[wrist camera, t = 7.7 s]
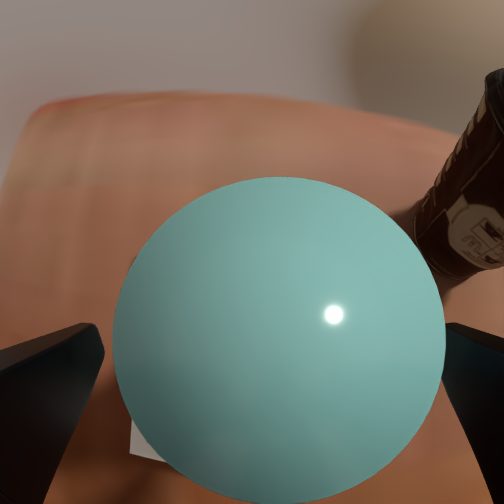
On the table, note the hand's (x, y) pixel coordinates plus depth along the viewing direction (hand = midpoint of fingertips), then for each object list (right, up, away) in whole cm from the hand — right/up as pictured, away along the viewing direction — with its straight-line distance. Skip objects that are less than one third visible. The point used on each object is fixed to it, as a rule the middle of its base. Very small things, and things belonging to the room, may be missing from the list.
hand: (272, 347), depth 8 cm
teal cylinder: (0, -3, +8) cm, 8 cm away
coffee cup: (+13, +3, +11) cm, 17 cm away
